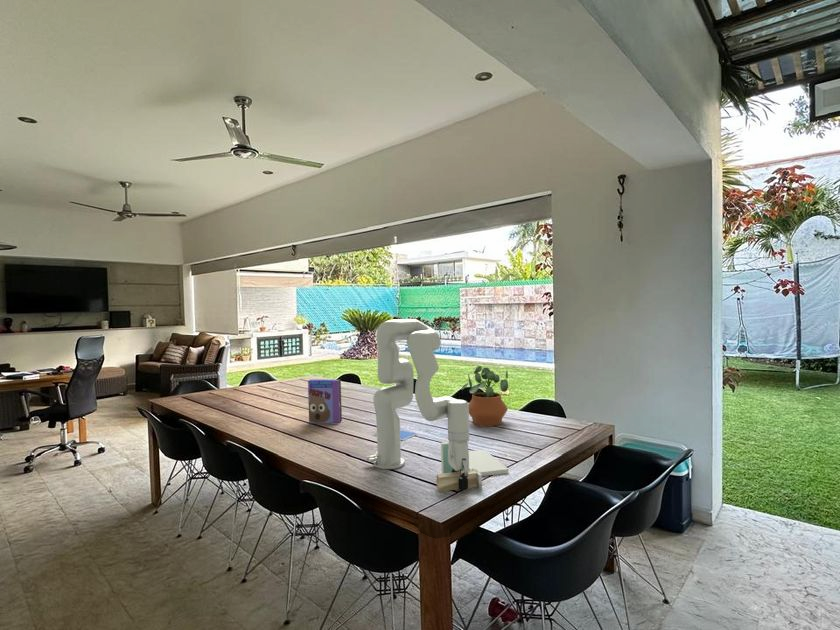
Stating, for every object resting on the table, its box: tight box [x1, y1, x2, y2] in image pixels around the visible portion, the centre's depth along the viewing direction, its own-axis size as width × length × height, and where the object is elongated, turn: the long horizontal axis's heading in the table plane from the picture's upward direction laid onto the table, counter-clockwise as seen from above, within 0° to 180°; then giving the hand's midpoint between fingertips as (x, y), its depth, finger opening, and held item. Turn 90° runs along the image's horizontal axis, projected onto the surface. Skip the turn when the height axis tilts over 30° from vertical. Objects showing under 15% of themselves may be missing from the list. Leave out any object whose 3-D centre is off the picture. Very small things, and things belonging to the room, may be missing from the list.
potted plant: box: [460, 365, 509, 427], centre depth 240 cm, size 23×28×30 cm
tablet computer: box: [373, 429, 418, 441], centre depth 224 cm, size 19×13×1 cm, turn 54°
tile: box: [440, 441, 463, 474], centre depth 171 cm, size 9×2×12 cm, turn 104°
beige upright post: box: [436, 468, 483, 493], centre depth 158 cm, size 7×15×5 cm, turn 104°
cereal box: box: [307, 379, 343, 424], centre depth 250 cm, size 17×5×24 cm, turn 83°
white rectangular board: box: [468, 448, 509, 477], centre depth 180 cm, size 14×24×2 cm, turn 14°
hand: (459, 484), depth 158 cm, fingers open, 7 cm apart
